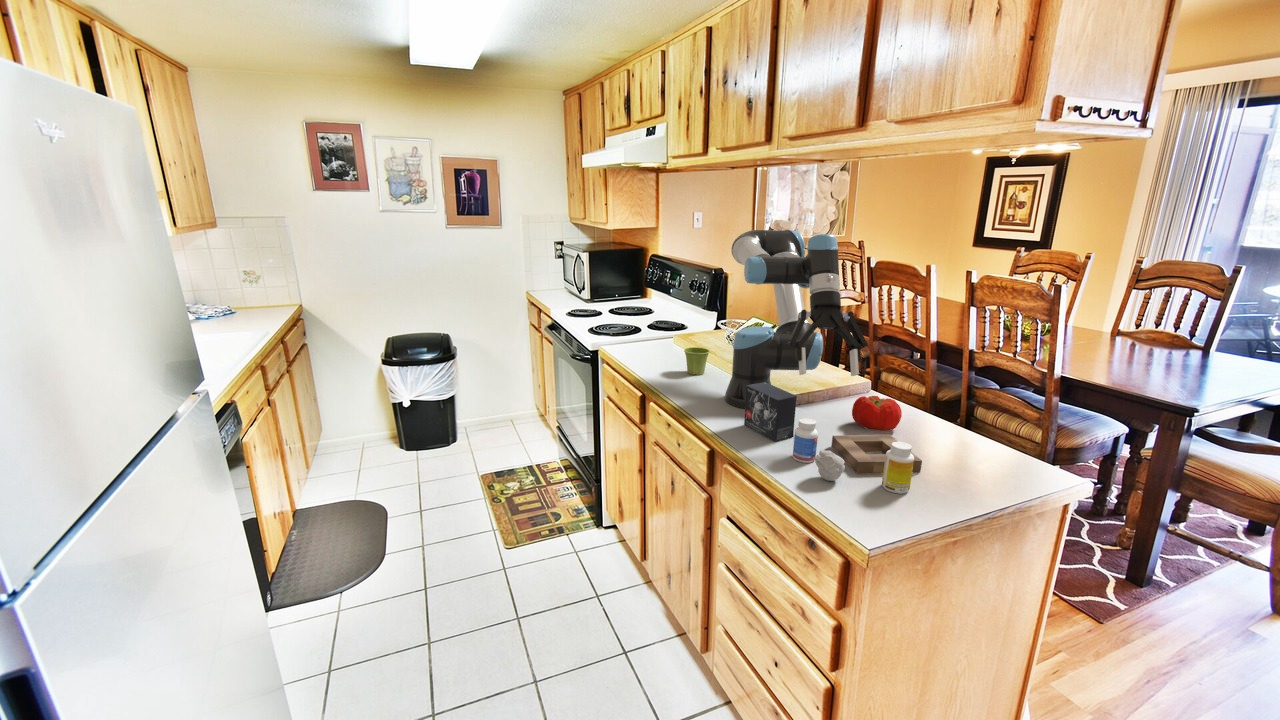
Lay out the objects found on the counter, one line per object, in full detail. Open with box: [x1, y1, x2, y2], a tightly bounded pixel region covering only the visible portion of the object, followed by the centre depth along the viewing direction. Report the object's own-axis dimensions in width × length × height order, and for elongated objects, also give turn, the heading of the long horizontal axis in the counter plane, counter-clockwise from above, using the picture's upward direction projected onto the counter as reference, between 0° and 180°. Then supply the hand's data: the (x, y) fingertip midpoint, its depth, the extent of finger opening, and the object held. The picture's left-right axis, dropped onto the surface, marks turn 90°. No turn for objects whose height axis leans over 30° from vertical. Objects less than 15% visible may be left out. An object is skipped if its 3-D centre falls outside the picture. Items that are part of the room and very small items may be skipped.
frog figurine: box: [814, 449, 846, 482], centre depth 122 cm, size 6×7×7 cm
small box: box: [743, 382, 798, 443], centre depth 148 cm, size 13×7×12 cm, turn 28°
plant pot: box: [683, 346, 711, 376], centre depth 200 cm, size 9×9×9 cm
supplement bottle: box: [881, 441, 914, 495], centre depth 118 cm, size 6×6×10 cm
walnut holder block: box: [830, 434, 923, 475], centre depth 133 cm, size 15×15×3 cm
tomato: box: [851, 395, 902, 432], centre depth 152 cm, size 13×12×8 cm
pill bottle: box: [792, 417, 819, 464], centre depth 132 cm, size 6×5×10 cm
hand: (828, 374), depth 138 cm, fingers open, 13 cm apart
